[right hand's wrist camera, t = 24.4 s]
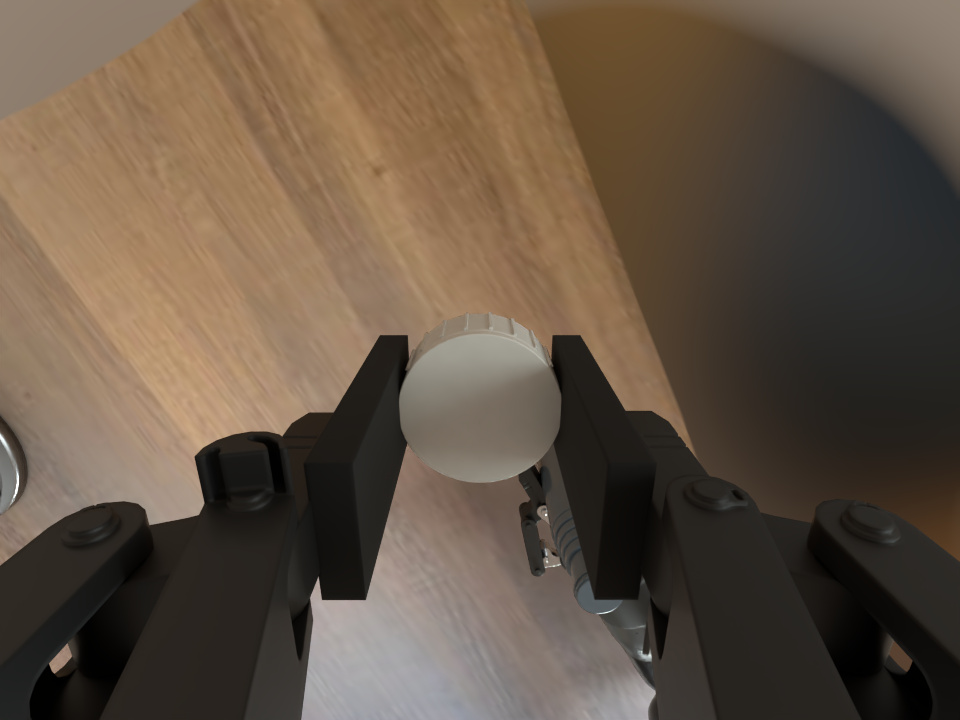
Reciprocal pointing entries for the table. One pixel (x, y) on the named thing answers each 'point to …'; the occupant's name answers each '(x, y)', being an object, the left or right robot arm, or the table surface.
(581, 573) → the bottle
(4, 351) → the table surface
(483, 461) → the cap
